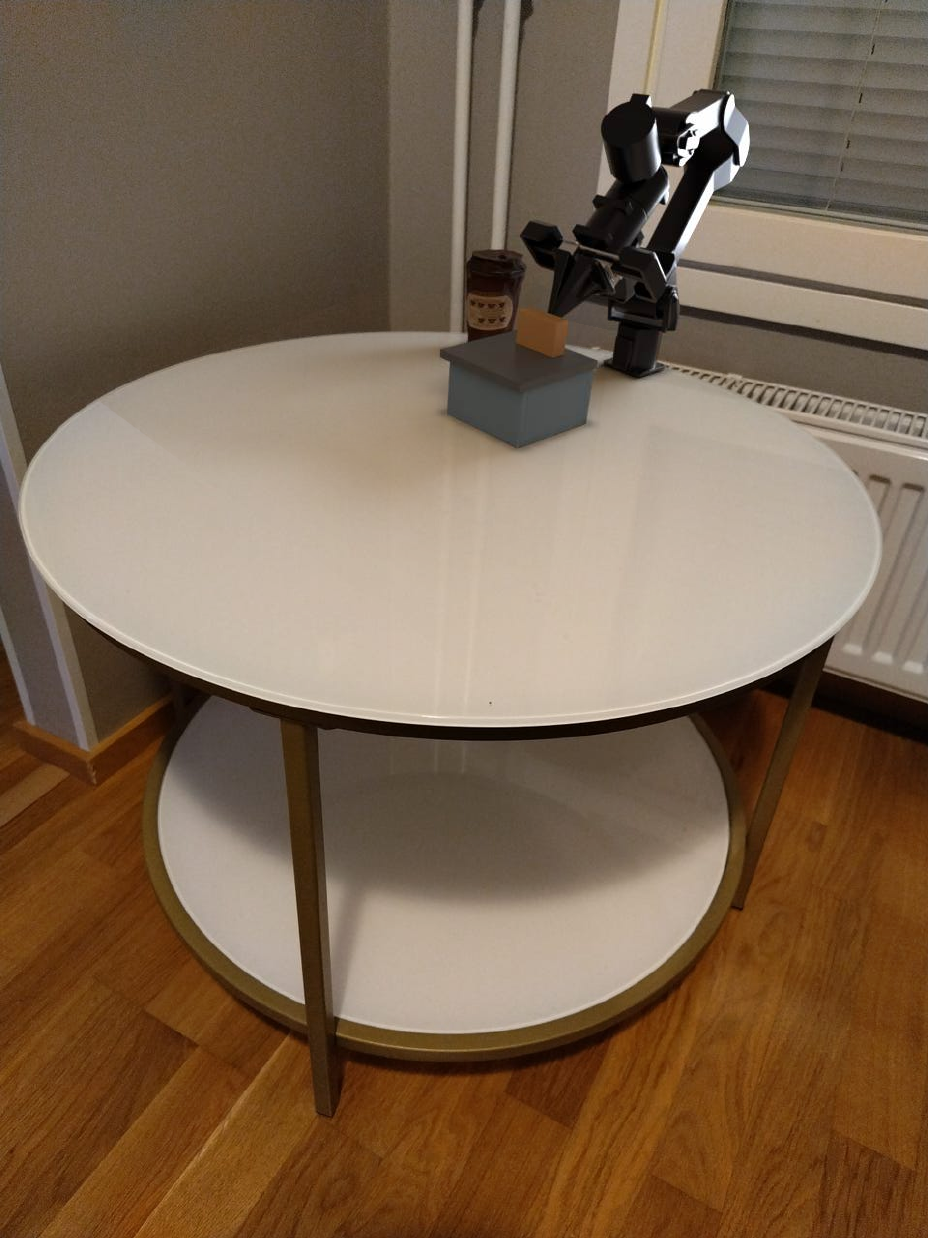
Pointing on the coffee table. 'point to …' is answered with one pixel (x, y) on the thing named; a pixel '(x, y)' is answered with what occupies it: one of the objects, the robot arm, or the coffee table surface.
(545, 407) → the bin
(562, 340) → the lid
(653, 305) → the robot arm
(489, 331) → the coffee cup
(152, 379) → the coffee table surface
